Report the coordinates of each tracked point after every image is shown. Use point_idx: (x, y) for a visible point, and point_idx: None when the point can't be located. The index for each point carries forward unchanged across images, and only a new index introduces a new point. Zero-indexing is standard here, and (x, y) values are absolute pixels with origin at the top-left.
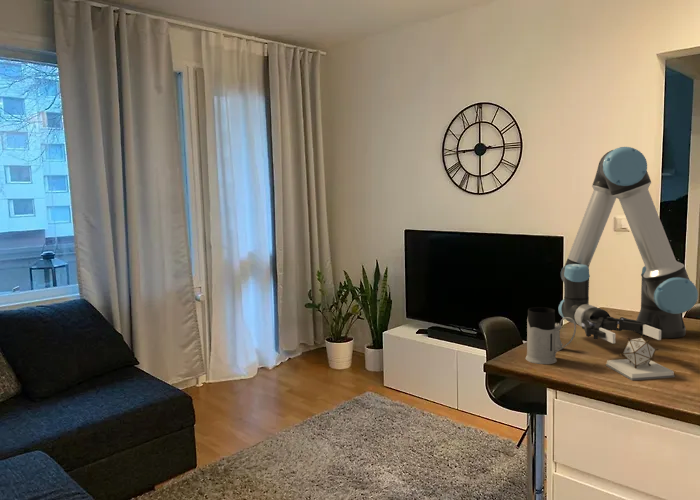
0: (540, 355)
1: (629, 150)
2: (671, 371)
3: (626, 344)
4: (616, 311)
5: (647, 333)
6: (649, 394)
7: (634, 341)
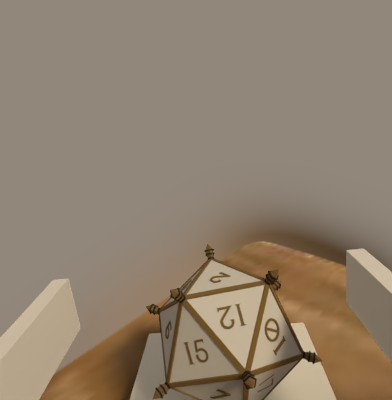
0: None
1: None
2: (157, 333)
3: (251, 373)
4: None
5: (28, 395)
6: (296, 276)
7: (250, 275)
